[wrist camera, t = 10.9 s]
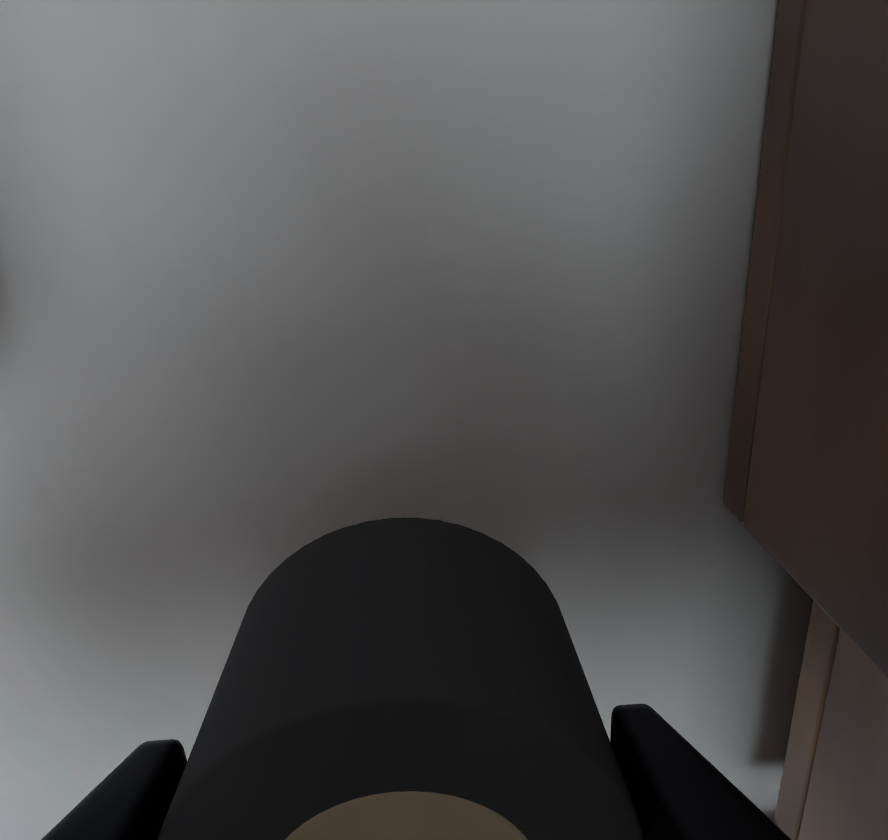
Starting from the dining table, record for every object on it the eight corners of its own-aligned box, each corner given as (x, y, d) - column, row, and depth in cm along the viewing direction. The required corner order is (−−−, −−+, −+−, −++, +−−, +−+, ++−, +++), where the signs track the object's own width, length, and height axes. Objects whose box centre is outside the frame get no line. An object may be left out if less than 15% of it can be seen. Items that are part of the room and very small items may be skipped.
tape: (565, 773, 11) (637, 1032, 8) (263, 799, 11) (196, 1077, 7) (569, 503, 9) (664, 677, 6) (210, 529, 9) (92, 726, 6)
